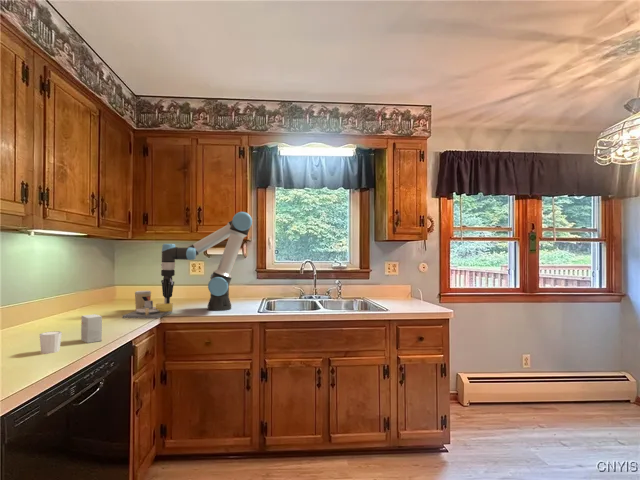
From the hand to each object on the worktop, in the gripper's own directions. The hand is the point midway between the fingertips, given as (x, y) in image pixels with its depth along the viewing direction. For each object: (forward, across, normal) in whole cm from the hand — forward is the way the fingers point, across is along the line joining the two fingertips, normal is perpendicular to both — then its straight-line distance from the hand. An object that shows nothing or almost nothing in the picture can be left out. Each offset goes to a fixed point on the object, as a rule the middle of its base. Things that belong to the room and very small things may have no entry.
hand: (166, 308), depth 224 cm
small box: (+3, +42, -51) cm, 66 cm away
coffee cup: (+4, -21, -6) cm, 22 cm away
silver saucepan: (+1, -1, -7) cm, 7 cm away
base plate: (+3, -2, -10) cm, 11 cm away
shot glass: (+3, +50, -67) cm, 84 cm away
